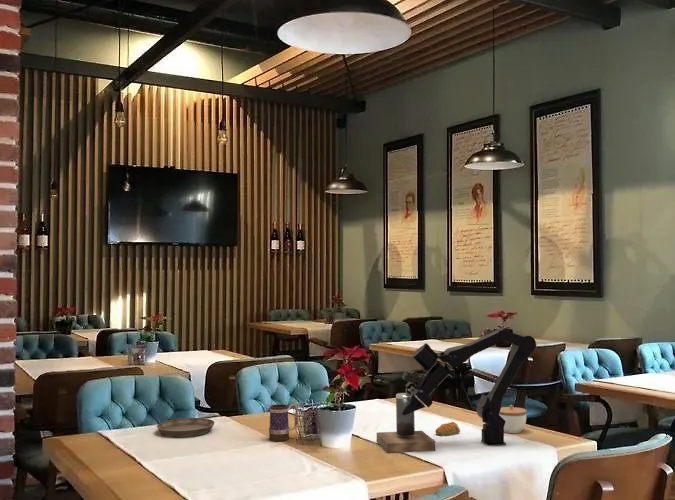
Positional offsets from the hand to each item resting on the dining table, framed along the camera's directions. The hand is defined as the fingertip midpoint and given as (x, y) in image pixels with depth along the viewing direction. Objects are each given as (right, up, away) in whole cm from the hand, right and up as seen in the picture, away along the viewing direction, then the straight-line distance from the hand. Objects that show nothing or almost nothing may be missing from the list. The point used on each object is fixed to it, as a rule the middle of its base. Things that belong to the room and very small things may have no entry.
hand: (401, 412), depth 246 cm
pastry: (+18, -12, +18) cm, 28 cm away
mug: (-40, -12, +10) cm, 43 cm away
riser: (+1, -11, 0) cm, 11 cm away
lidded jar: (+41, -12, +21) cm, 48 cm away
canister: (+1, -7, 0) cm, 7 cm away
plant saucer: (-76, -13, +23) cm, 81 cm away
